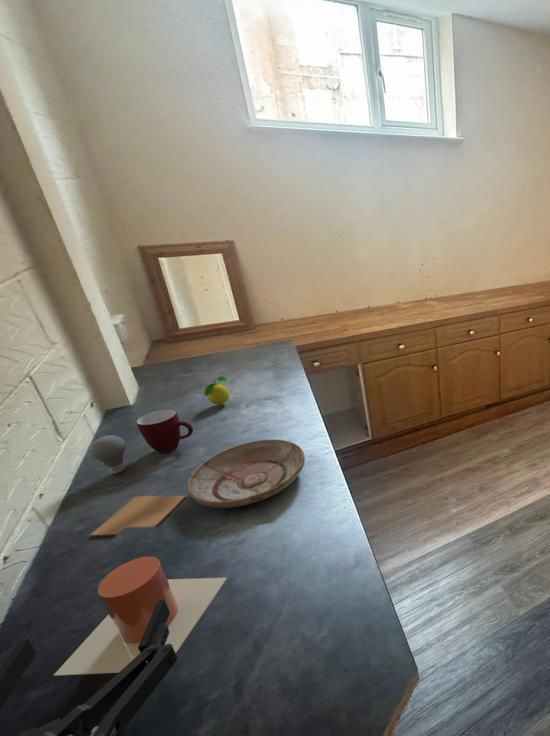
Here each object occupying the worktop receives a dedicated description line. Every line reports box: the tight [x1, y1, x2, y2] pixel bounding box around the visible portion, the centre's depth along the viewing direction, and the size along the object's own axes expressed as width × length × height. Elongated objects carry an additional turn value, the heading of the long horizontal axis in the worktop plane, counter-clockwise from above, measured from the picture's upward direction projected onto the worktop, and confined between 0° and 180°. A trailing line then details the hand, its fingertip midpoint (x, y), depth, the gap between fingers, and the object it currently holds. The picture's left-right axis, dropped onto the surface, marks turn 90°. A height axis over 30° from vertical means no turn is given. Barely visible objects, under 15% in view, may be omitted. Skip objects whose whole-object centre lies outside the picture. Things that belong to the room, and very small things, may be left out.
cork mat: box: [89, 495, 187, 538], centre depth 85 cm, size 11×11×1 cm
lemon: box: [204, 376, 230, 406], centre depth 128 cm, size 7×6×10 cm
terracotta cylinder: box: [97, 556, 178, 643], centre depth 62 cm, size 7×7×10 cm
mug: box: [136, 408, 194, 454], centre depth 106 cm, size 10×8×10 cm
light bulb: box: [90, 434, 127, 475], centre depth 96 cm, size 6×6×10 cm
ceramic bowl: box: [186, 438, 306, 509], centre depth 94 cm, size 23×24×5 cm
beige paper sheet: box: [53, 577, 228, 677], centre depth 64 cm, size 15×15×1 cm
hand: (99, 625), depth 52 cm, fingers open, 13 cm apart
